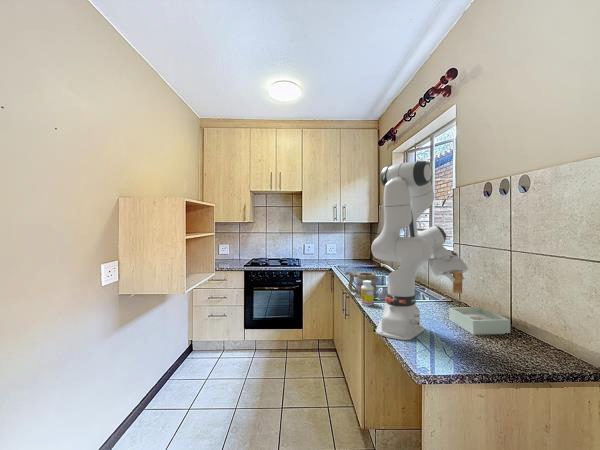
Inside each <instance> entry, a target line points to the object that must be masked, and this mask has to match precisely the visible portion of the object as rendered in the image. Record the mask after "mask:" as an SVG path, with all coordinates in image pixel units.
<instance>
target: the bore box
mask: <svg viewBox="0 0 600 450" xmlns="http://www.w3.org/2000/svg"><path fill="white" fill-rule="evenodd" d="M448 311H449V313H448V318H449V321H451V322H452V323H454V324H456V325H457V326H459V327H460V328H461V329H463V330H465V331H467V332H468V333H469V334H472V335H473V336H475V335H477V336H478V335H508V333H510V334H511V319H509V318H507V317H504V316H502V315H501V314H498V313H496V312H494V311H491V310H489V309H487V308H484V307H482V306H467V307H466V306H464V307H461V306H460V307H449V309H448ZM505 333H507V334H505Z"/></svg>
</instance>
